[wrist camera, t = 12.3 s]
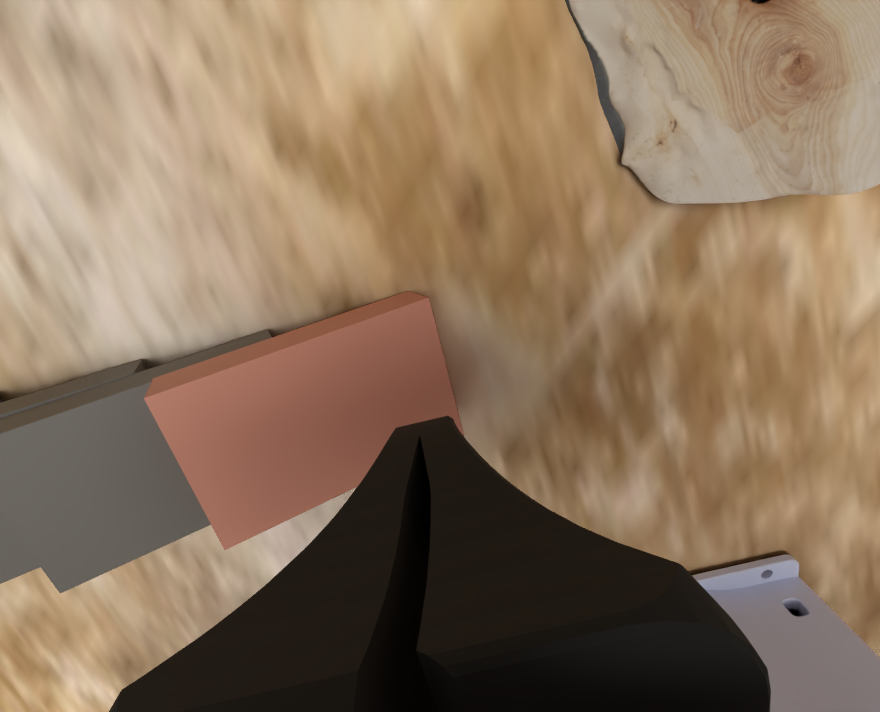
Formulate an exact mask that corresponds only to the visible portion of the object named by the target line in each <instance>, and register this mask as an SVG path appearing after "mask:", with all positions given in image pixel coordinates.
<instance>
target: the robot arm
mask: <svg viewBox="0 0 880 712" xmlns="http://www.w3.org/2000/svg"><path fill="white" fill-rule="evenodd" d="M798 575H799V563H798V562H797V561H796V560H795V559H794V558H793V557H792V556H791V555H780V556H775V557H771V558H766V559H762V560H758V561H753V562H749V563H744V564H740V565H735V566H731V567H726V568H722V569H718V570H713V571H709V572H704V573H700V574H695V575H691V574H690V573H689V572H688V571H687V570H686V569H685V568H684V567H683V566H682V565H680V564H679V563H676V562H673V561H670V560H667V559H664V558H661V557H658V556H655V555H652V554H649V553H646V552H644V551H641V550H638V549H635V548H632V547H629V546H626V545H623V544H620V543H617V542H615V541H612V540H610V539H608V538H605V537H603V536H601V535H599V534H596V533H594V532H592V531H589V530H587V529H585V528H582V527H580V526H578V525H576V524H575V523H573V522H571V521H569V520H567V519H565V518H563V517H562V516H560V515H558V514H556V513H554V512H552V511H550V510H549V509H547V508H545V507H544V506H542V505H541V504H539V503H538V502H536V501H535V500H533V499H531V498H530V497H529V496H527V495H526V494H524V493H523V492H522V491H520V490H519V489H517V488H516V487H515V486H513V485H512V484H511V483H510V482H508V481H507V480H506V479H505V478H504V477H502V476H501V475H500V474H499V473H498V472H497V471H496V470H495V469H493V468H492V467H491V466H490V465H489V464H488V463H487V462H486V461H485V460H484V459H483V458H482V457H481V456H480V455H479V454H478V453H477V452H476V451H475V449H474V448H473V447H472V446H471V445H470V444H469V443H468V441H467V440H466V439H465V438H464V436H463V435H462V434H461V432H460V431H459V429H458V428H457V426H456V424H455V422H454V419H453V418H451V417H450V416H444V417H439V418H435V419H431V420H427V421H422V422H418V423H414V424H410V425H405V426H401V427H397V428H395V430H394V431H393V433H392V434H391V436H390V437H389V439H388V440H387V442H386V444H385V445H384V447H383V449H382V450H381V452H380V454H379V455H378V457H377V458H376V460H375V462H374V463H373V465H372V466H371V468H370V469H369V471H368V472H367V474H366V475H365V477H364V478H363V480H362V481H361V483H360V484H359V485H358V487H357V488H356V489H355V491H354V492H353V493H352V495H351V496H350V498H349V499H348V500H347V502H346V503H345V504H344V506H343V507H342V508H341V509H340V511H339V512H338V513H337V514H336V515H335V517H334V518H333V519H332V520H331V521H330V522H329V524H328V525H327V526H326V527H325V528H324V529H323V530H322V531H321V532H320V533H319V534H318V535H317V537H316V538H315V539H314V540H313V541H312V542H311V543H310V544H309V545H308V546H307V547H306V548H305V549H304V550H303V551H302V552H301V553H300V554H299V555H298V556H297V557H295V558H294V559H293V560H292V561H291V562H290V563H289V564H288V565H287V566H286V567H285V568H284V569H283V570H281V571H280V572H279V573H278V574H277V575H276V576H275V577H274V578H273V579H272V580H271V581H270V582H269V583H267V584H266V585H265V586H264V587H263V588H262V589H260V590H259V591H258V592H257V593H256V594H254V595H253V596H252V597H251V598H250V599H248V600H247V601H246V602H245V603H243V604H242V605H241V606H240V607H238V608H237V609H236V610H235V611H233V612H232V613H231V614H229V615H228V616H227V617H226V618H224V619H223V620H222V621H220V622H219V623H218V624H217V625H215V626H214V627H213V628H211V629H210V630H209V631H207V632H206V633H204V634H203V635H202V636H200V637H199V638H198V639H196V640H195V641H193V642H192V643H190V644H189V645H188V646H186V647H185V648H183V649H182V650H180V651H179V652H177V653H176V654H174V655H173V656H172V657H170V658H169V659H167V660H166V661H164V662H163V663H161V664H160V665H158V666H157V667H155V668H154V669H153V670H151V671H150V672H148V673H147V674H145V675H144V676H142V677H141V678H139V679H138V680H136V681H135V682H133V683H132V684H130V685H129V686H127V687H125V688H124V689H122V691H121V692H120V694H119V695H118V697H117V699H116V700H115V702H114V704H113V706H112V707H111V709H110V711H109V712H880V657H879V656H878V655H877V654H876V653H875V652H874V651H873V650H872V649H871V648H870V647H869V646H868V645H867V644H866V643H865V642H864V641H863V640H862V639H861V638H860V637H859V636H858V635H857V634H856V633H855V632H854V631H853V630H852V629H851V628H850V627H849V626H848V625H847V624H846V623H845V622H844V621H843V620H842V619H841V618H840V617H839V616H838V615H837V614H836V613H835V612H834V611H833V610H832V609H831V608H830V607H829V606H828V605H827V604H826V603H825V602H824V601H823V600H822V599H821V598H820V597H819V596H818V595H817V594H816V593H815V592H814V591H813V590H812V589H811V588H810V587H809V586H808V585H807V584H806V583H805V582H804V581H803V580H802V579H801V578H800V577H798Z"/></svg>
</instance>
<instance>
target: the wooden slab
mask: <svg viewBox="0 0 880 712" xmlns="http://www.w3.org/2000/svg"><path fill="white" fill-rule="evenodd" d="M565 1H566V4H567V7H568V10H569V12H570V14H571V16H572V18H573V20H574V22H575V24H576V26H577V28H578V30H579V33H580V35H581V37H582V39H583V41H584V43H585V45H586V47H587V50H588V52H589V55H590V59H591V61H592V64H593V68H594V72H595V76H596V82H597V88H598V95H599V99H600V103H601V106H602V108H603V111H604V114H605V116H606V118H607V121H608V123H609V125H610V128H611V130H612V133H613V136H614V138H615V141H616V143H617V146H618V149H619V151H620V153H621V155H622V158H621V164H622V165H624V166H628V167H629V168H630V169H631V170H632V172H633V173H634V174H635V175H636V176H637V178H638V179H639V180H640V181H641V182H642V184H643V185H644V186H645V187H646V188H647V189H648V190H649V191H650V192H651V193H652V194H654V195H655V196H656V197H658V198H660V199H661V200H663V201H665V202H669V203H677V204H692V203H736V202H747V201H757V200H764V199H770V198H775V197H780V196H787V195H797V194H814V195H845V194H852V193H857V192H861V191H864V190H867V189H870V188H872V187H874V186H876V185H878V184H880V0H565Z"/></svg>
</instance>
